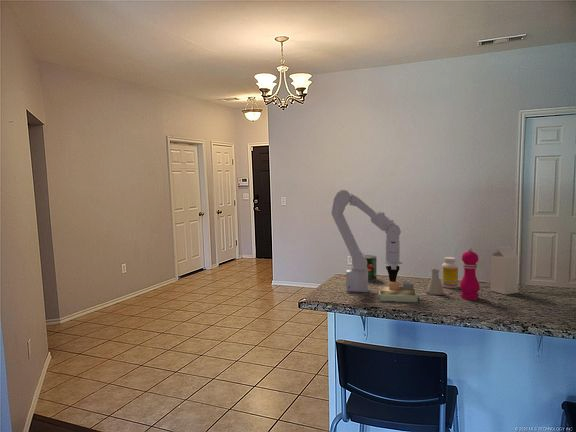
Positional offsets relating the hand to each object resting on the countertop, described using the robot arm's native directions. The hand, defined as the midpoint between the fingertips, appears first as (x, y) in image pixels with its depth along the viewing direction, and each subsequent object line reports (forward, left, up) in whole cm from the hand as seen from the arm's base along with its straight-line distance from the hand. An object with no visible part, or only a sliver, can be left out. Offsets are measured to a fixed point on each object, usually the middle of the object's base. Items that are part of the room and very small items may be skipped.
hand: (392, 283), depth 177 cm
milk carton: (+45, +2, -3) cm, 45 cm away
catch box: (+1, -15, -3) cm, 15 cm away
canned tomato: (-10, +21, -3) cm, 24 cm away
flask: (+17, -3, -3) cm, 18 cm away
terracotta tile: (0, -7, -1) cm, 7 cm away
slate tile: (+6, -7, -1) cm, 9 cm away
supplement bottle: (+25, +9, -3) cm, 27 cm away
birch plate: (+1, -8, -3) cm, 8 cm away
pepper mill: (+29, -9, -3) cm, 30 cm away
